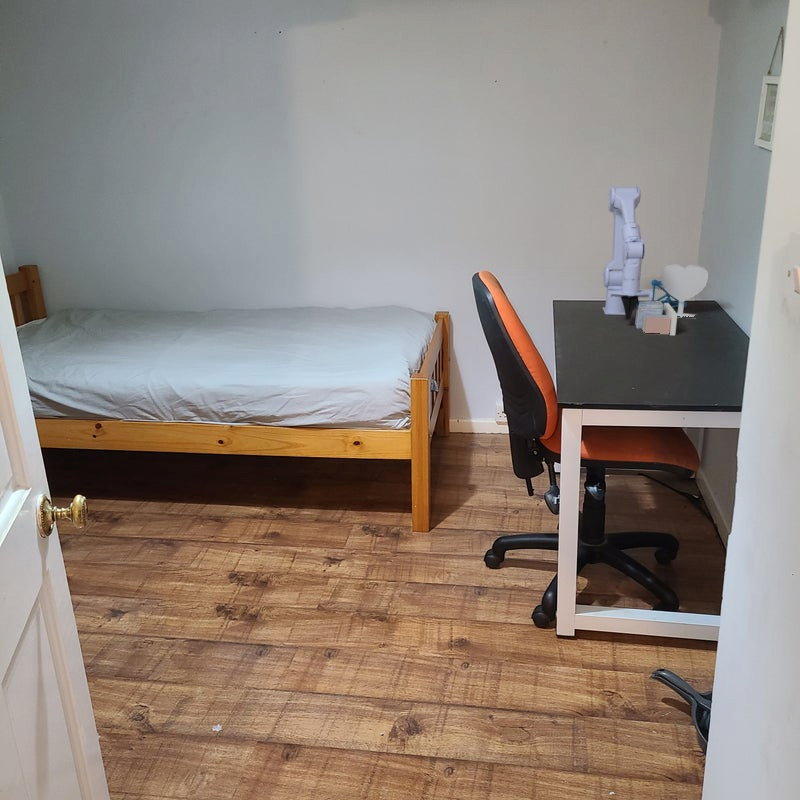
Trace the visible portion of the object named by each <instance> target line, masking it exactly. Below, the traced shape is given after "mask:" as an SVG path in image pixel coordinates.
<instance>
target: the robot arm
mask: <svg viewBox="0 0 800 800" xmlns="http://www.w3.org/2000/svg"><path fill="white" fill-rule="evenodd" d="M641 196H642V195H641V188H640V187H639V186H638V185H637V186H611V188H610V189H609V192H608V202H607V203H608V205H607V207H608V212H610V213H612V214H613V233H612V234H613V235H612V236H613V239H612V260H611V261H609V262H607V263H606V264H605V265H604V267H603V273H602V284H603V286H604V288H606V291H605V292H606V294H605V296H606V297H605V305H604V306H603V307H602V310H603V312H604V315H613V316H615V315H616V316H617V315H620V316H621V315H622V316H623V315H624V316H625V320H631V318H632V315H633V312H634V310H635V309H636V308H635V307H637V303H638V301H640V300H639V298H649V299H652V298H653V290H640V285H641V284H640V283H641V275H642V273H641V272H642V263H643V260H644V258H645V256H646V255H645V254H646V242H645V241H644V240H643V238H642V235H641V234H642V233H641V228H640V225H639V223H636V208H638V205H639V204H640V202H641Z"/></svg>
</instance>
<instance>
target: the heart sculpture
mask: <svg viewBox="0 0 800 800" xmlns="http://www.w3.org/2000/svg"><path fill="white" fill-rule="evenodd" d="M708 280H709V272H708V269H707V268H706V267H704V266H702V265H698V264H694V263H693V264H688V265H687V266H684V265H682V264H680V263H672V264H668V265H666V266H664V267H662V268H661V272H660V281H661V283H662V285H663V286H662V288H664V289H665V290H666V291H667V292H668V293H669V294H670V295H671V296H673V297H674V298H676V299H677V300H679V305H678V304H677V305H678V307H677V312H676V313H677V316H680V317H679V318H682V317H683V316H684V317H685V316H686V317H688V316H689V317H694V316H695V315H696V314H694V313H685V312H684V308H683V307H684V301H685V302H686V301H687V300H689V299H691V298H693V297H695V296H697V295H698V294H700V293H701V292H702V291H703V290H704V289H705V287H706V286H707V283H708Z"/></svg>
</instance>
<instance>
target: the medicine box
mask: <svg viewBox="0 0 800 800" xmlns="http://www.w3.org/2000/svg"><path fill="white" fill-rule="evenodd" d="M661 301H662V300H659V301H655V300H654V301H651V300H638V303H637V304H636V308H635V309H636V310H635V313H636V314H635V320H634V325H636V326H635V327H636V329H642V321H643V315H662V312H663V305H664V303H662V302H661Z"/></svg>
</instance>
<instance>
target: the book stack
mask: <svg viewBox="0 0 800 800" xmlns="http://www.w3.org/2000/svg"><path fill="white" fill-rule="evenodd" d="M663 305H664V307H663V312H662V315H643V321H642V328H641V330H643V331H642V333H644V332H645V333H660V334H659V335H670V336H676V333H677V332H676V330H677V321H678V317H677V313H678V312H676V311H675V309H674V308H672V307H671V306H672V305H671V303H670V304H669V303H665V302H664V303H663ZM645 333H644V334H645ZM669 333H670V334H669Z"/></svg>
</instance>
